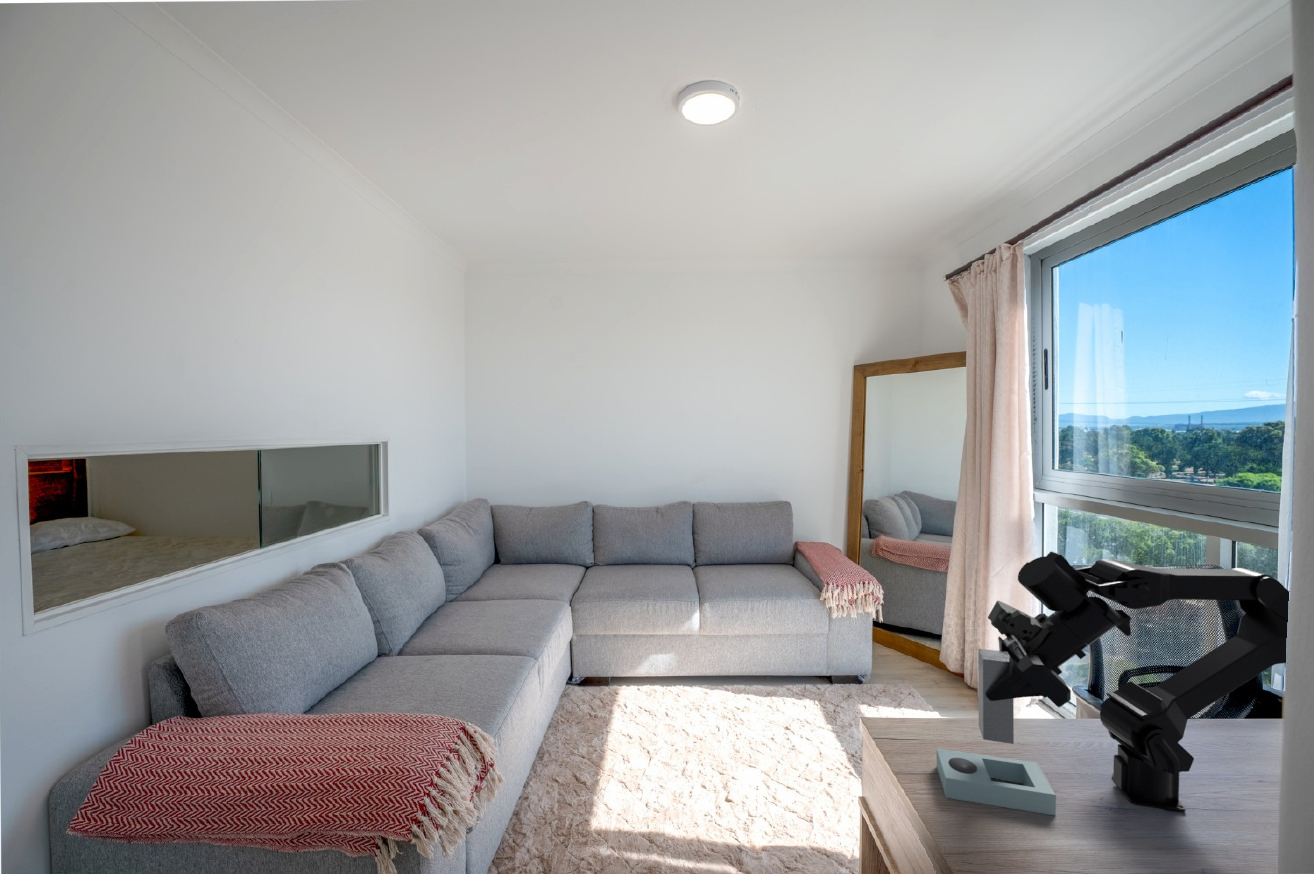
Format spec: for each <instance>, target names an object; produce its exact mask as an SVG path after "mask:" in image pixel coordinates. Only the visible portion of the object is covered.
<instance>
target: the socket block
mask: <svg viewBox="0 0 1314 874" xmlns="http://www.w3.org/2000/svg"><path fill="white" fill-rule="evenodd" d="M936 769H937V772H938V773H937V774H938V776H939V780H940V783H941V786H942V790H943V793H944V797H945V798H947V799H953V800H958V801H965V802H970V803H971V802H972V803H976V804H982V805H990V806H995V807H1001V808H1002V807H1003V808H1008V809H1014V810H1018V811H1026V812H1031V813H1039V814H1045V815H1050V816H1054V817H1055V816H1056V810H1057V809H1056V808H1057V805H1056V803H1057V794H1056V793H1055V791H1054V789H1053V788H1052V786H1051V784H1050V782H1049V780H1048V779H1047V777H1046V776H1045V774H1044V771H1043V770H1042V768H1041V767H1040V765H1039V763H1038V762H1037V761H1029V760H1028V761H1027V760H1021V759H1015V758H1007V757H999V756H992V755H985V754H977V753H972V752H971V753H970V752H964V751H958V750H957V751H956V750H952V749H951V750H950V749H943V748H936ZM991 778H996V779H995V780H998V779H1002V780H1001V782H1000V781H993V780H992V779H991ZM1005 780H1006V782H1002V781H1005ZM1007 780H1008V781H1007ZM1008 782H1012V783H1008ZM1014 783H1018V784H1014ZM1020 784H1023V785H1020Z"/></svg>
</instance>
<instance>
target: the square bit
mask: <svg viewBox="0 0 1314 874" xmlns="http://www.w3.org/2000/svg"><path fill="white" fill-rule="evenodd" d="M977 650H978V651H977V652H978V653H977V654H978V655H977V656H978V660H977V665H978V667H977V668H978V670H977V671H978V673H977V674H978V676H977V677H978V681H977V682H978V692H977V694H978V727H979V730H980V731H979V732H980V734H981V736H982V739H983V740H984V741H991V742H998V743H999V742H1000V743H1003V744H1011V745H1014V743H1015V742H1014V741H1015V740H1014V738H1015V737H1014V726H1015V725H1014V722H1015V721H1014V718H1015V717H1014V710H1015V709H1014V698H1012V699H1005V700H997V701H990V700H989V699H988V698H987V697H986V693H987V692H988V691H989V690H990V689H991V688H992V687H993V686H994V685H995V684H996V683H997V682H998V681H999V680H1000V679H1001V678H1002V677H1003V676H1004V675H1005V674H1006V673H1007V672H1008V671H1009V658H1010V655H1009V654H1008V652H1006V651H999V650H997V649H996V650H994V649H986V648H985V649H984V648H978V649H977Z"/></svg>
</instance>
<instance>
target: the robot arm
mask: <svg viewBox="0 0 1314 874" xmlns="http://www.w3.org/2000/svg"><path fill="white" fill-rule="evenodd" d="M1017 581H1018V582H1019V583H1020V585H1022V586H1023V588H1024V589H1026V590H1027V591H1028V592H1029V593H1030V594H1031V595H1033V597H1034V598H1036V599H1037V600H1038V601H1039V602H1040V603H1041V604H1042V605H1044V606H1045V607H1046V608H1047V610H1049V611H1052V612H1053V613H1051V614H1050V615H1047V614H1045V612H1044V613H1038V614H1037V615H1035V616H1034V617H1033V616H1031V615H1029V614H1027V613H1025V611H1022V610H1019V609H1017V608H1015V607H1014V606H1011V605H1010V604H1007V603H1005V602H1003V601H1000V600H996V602H995V604H994V605H993V608H992V609H991V611H990V613H989V615H988V616H987V618H988V620H990V625H991V626H992V627H994V628H995V629H997V631H998V633H1000V634H1001V635H1004V636H1005V637H1006V638H1004V639H1002V637H1001V636H998V638H997V639H998V648H999V650H998V651H1006V652H1008V654H1009V655H1010V658H1009V671H1008V672H1007V673H1006V674H1005V675H1004V676H1003V677H1002V678H1001V679H1000V680H999V681H998V682H997V683H996V684H995V685H994V686H993V687H992V688H991V689H990V690H989V691H988V692H987V693H986V697H987V698H988V699H989V700H990V701H997V700H1005V699H1012V698H1013V699H1018V698H1032V697H1043V698H1047V699H1048V700H1050V701H1051V702H1052V703H1053V704H1054V705H1055V706H1056V707H1058V708H1061V707H1063V706H1064V705H1065V704H1067V703H1069V701H1071V700H1072V698H1071V697H1072V694H1071V693H1072V691H1071V690H1072V689H1070V687H1069V686H1068V685H1067V683H1066V682H1065V680H1064V679H1063V678H1062V677H1061V676H1060V674H1062V673H1063V670H1061V668H1060V667H1061V666H1062V665H1064V664H1065V663H1066V662H1068V661H1069V660H1071V659H1072V658H1073V657H1074V656H1077V658H1079V660H1082V659H1083V658H1084V657H1086V656H1087V654H1086V653H1085V651H1084V650H1085V649H1086V648H1088V646H1090V645H1091V644H1092V643H1094V642H1096V641H1097V640H1098V639H1100V638H1101V637H1103V636H1104V635H1106V634H1107V633H1109V631H1111V630H1113V628H1115V627H1116V628H1117V629H1118V631H1120V632H1121V633H1122V634H1123V635H1125V636H1127V637H1130V636H1131V635H1132V628H1131V620H1132V617H1131V616H1130V615H1129V614H1127V613H1126V612H1125V611H1124V610H1123V609H1114V608H1113V607H1112V606H1111V605H1110V604H1109V603H1107V601H1105V600H1104V599H1107V600H1109V601H1112V602H1114V603H1116V604H1118V605H1121V606H1123V607H1125V608H1127V609H1130V610H1143V609H1148V608H1154V607H1155V608H1156V607H1160V606H1162V605H1163V604H1165V603H1167V602H1168V601H1175V600H1176V601H1178V600H1180V601H1182V600H1183V601H1184V600H1185V601H1187V600H1188V601H1189V600H1191V601H1199V600H1200V601H1235V604H1236V606H1237V608H1238V609H1239V610H1240V611H1241V612H1242V613H1243V614H1244V615H1242V616H1241V617H1240V620H1239V625H1238V629H1237V632H1236V635H1234V636H1232V638H1229V639H1227V640H1226V641H1225V642H1223V643H1221V644H1220V645H1219V646H1217V647H1216V648H1214V649H1212V650H1211V651H1209V652H1207V653H1205V654H1204V655H1203V656H1201V657H1200V658H1198V659H1196V660H1195V661H1193V662H1191V663H1190V664H1189V665H1187V666H1184V668H1182V669H1181V670H1179V671H1177V672H1176V673H1174V674H1173V675H1171V676H1170V677H1168V678H1166V679H1164V680H1163V681H1161V682H1160V683H1159V684H1157V685H1155V686H1152V687H1142V686H1141V685H1138V684H1137V683H1135V682H1133V681H1127V682H1125V683H1124V684H1123V685H1121V686H1120V687H1119V688H1118V689H1117V690H1114V691H1112V692H1107V693H1106V696H1107V698H1106V699H1105V700H1103V701H1102V702H1101V704H1100V712H1099V719H1100V721H1101V723H1102V725H1103V727H1104V728H1105V729H1106V730H1107V732H1108V734H1109V737H1110V738H1111V739H1113V740H1115V741H1116V742H1118V743H1119V744H1117V754H1114V755H1113V773H1112V774H1111V779H1112V780H1113V782H1114V783H1115V785H1116V786H1117V787H1118V788H1119V790H1120V791H1121V792H1122V793H1123V794H1124V796H1125V797H1126V798H1127V800H1128V801H1129V802H1130V803H1131V804H1132V805H1137V806H1142V807H1148V808H1149V807H1150V808H1156V809H1161V810H1162V809H1163V810H1168V811H1174V812H1183V813H1185V812H1186V806H1185V805H1184V804H1183V803H1182V802H1181V801H1180V800H1179V799H1180V795H1179V794H1180V773H1182V772H1189V771H1190V769H1191V768H1192V765H1193V763H1194V760H1195V758H1194V756H1193V755H1191V753H1190V752H1188V750H1187V749H1185V748H1184V747H1183V746H1182V745H1181V744H1180V743H1179V742H1180V741H1181V740H1183V738H1184V735H1185V731H1186V729H1187V723H1188V720H1189V719H1190V718H1191V717H1194V715H1196V714H1198V713H1199V712H1201V711H1202V710H1204V709H1206V708H1207V707H1209V706H1210V705H1212V704H1213V703H1215V702H1217V701H1219V699H1221V698H1223V697H1225V696H1226V695H1228V694H1229V693H1231V692H1233V691H1234V690H1236V689H1238V688H1239V687H1241V686H1243V685H1244V684H1245V683H1247V682H1249V681H1250V680H1252V679H1254V678H1255V677H1257V676H1258V675H1260V674H1261V673H1263V672H1265V671H1266V670H1268V669H1269V668H1271V667H1273V666H1275V665H1281V664H1287V663H1286V638H1287V622H1288V601H1289V592H1290V590H1288V589H1287V588H1286V587H1285V586H1284V585H1283V584H1282V583H1281V582H1280V581H1279V580H1278V579H1276V578H1275V577H1273V576H1272V575H1271V574H1266V573H1263V572H1258V571H1256V570H1252V569H1248V568H1246V567H1234V568H1155V567H1150V566H1145V565H1140V564H1137V563H1132V562H1129V561H1122V560H1117V559H1111V558H1102V559H1101V558H1100V559H1098V560H1096V561H1095V562H1094V564H1092V565H1090V566H1089V565H1088V566H1085V567H1078V568H1074V567H1073V566H1072V565H1071V564H1070V563H1069V560H1067V559H1066V558H1065V556H1063V555H1062V554H1061V553H1058V552H1055V551H1053V550H1052V551H1049V553H1047V555H1045V556H1044V555H1043V556H1039V557H1036V558H1035V559H1033V560H1031V561H1028V562H1025V564H1024V565H1022V567H1021V569H1019V571H1018V574H1017ZM1089 592H1091V593H1094V594H1095V595H1098V596H1100V597H1102V598H1100V597H1098V596H1088V595H1087V594H1088V593H1089ZM1103 598H1104V599H1103Z"/></svg>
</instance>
